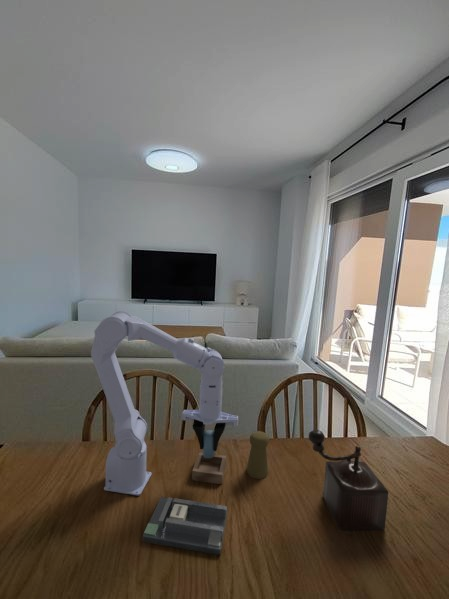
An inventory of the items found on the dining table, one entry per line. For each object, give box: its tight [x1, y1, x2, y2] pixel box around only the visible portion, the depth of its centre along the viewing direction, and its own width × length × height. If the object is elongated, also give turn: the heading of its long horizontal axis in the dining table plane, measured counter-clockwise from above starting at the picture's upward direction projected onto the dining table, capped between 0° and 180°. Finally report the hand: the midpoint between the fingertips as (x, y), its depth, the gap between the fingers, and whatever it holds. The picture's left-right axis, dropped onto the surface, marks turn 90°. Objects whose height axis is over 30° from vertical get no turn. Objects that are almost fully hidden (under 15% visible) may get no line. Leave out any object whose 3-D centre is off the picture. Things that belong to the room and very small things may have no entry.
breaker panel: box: [142, 496, 228, 556], centre depth 64 cm, size 16×10×3 cm, turn 82°
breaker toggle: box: [170, 504, 188, 521], centre depth 64 cm, size 3×3×2 cm
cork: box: [246, 430, 270, 480], centre depth 82 cm, size 6×6×11 cm
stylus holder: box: [191, 452, 227, 485], centre depth 81 cm, size 8×8×3 cm
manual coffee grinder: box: [308, 429, 389, 532], centre depth 69 cm, size 16×11×18 cm
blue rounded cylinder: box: [202, 429, 215, 458], centre depth 77 cm, size 3×3×6 cm
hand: (208, 448), depth 77 cm, fingers closed on blue rounded cylinder, 3 cm apart
